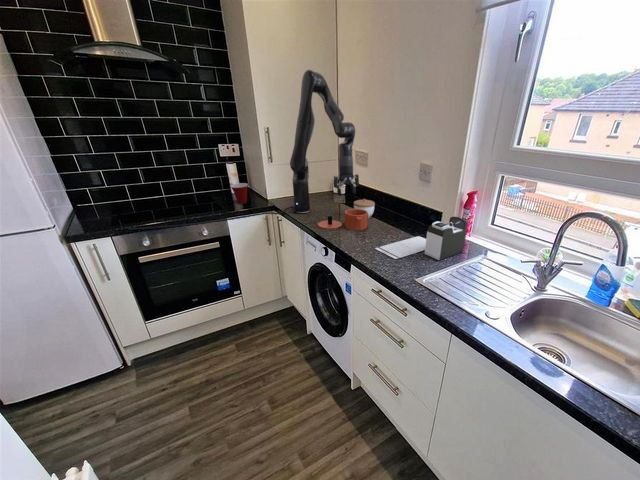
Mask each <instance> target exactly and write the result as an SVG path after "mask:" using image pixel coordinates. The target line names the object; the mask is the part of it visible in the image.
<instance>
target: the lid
mask: <svg viewBox="0 0 640 480" xmlns="http://www.w3.org/2000/svg"><path fill="white" fill-rule="evenodd" d="M317 226H318V227H319V228H321V229H324V230H333V229H334V230H335V229H339V228H341V227H342V226H343V223H342V221H338V220H335V219H334V220H333V215H332V214H327V219H325V220H322V221H319V222H318V223H317Z"/></svg>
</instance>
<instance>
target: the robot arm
mask: <svg viewBox="0 0 640 480" xmlns="http://www.w3.org/2000/svg"><path fill="white" fill-rule="evenodd" d="M326 80H327V79H325V76H324V75H322V74H321V73H320V72H317V71H315V70H313V69H306V70H305V71H304V73H303V75H302V78H301V87H300V88H301V90H300V102H299V109H298V115H297V116H298V117H297V122H296V126H295V128H296V129H295V135H294V144H293V149H292V153H291V157H290V160H289V167H290V169H291V171H292V189H293V192H292V193H293V203H291V206H288V207H287V208H285V209H284V210H283V211H282V212H272V211H268V212H267V211H266V212H259V213H253V214H248V215H247V214H246V215H241V216H235V217H229V218H228V217H227V218H221V219H214V220H208V221H207V220H206V221H201V222H200V221H199V222H192V223H191V222H190V223H182V224H171V225H159V226H147V227H144V226H143V227H129V228H127V231H137V230H139V231H140V230H153V229H154V230H155V229H167V228H177V227H179V228H180V227H189V226H196V225H204V224H210V223H211V224H213V223H216V222H224V221H231V220H237V219H244V218H249V217H255V216H262V215H269V214H270V215H283V214H285V212H286V211H288V210H290V209H291V211H294V214H308V213H311V206H310V187H309V179H310V177H309V176H310V175H309V174H310V173H309V161H308V159H307V151H308V148H309V145H310V142H311V140H312V137H313V133H314V128H315V122H316V119H315V114H314V110H313V104H312V101H313V93H314V94H317V95H318V96H319V97H320V99H321V100H322V103H323V108H324V111H325V113H326V115H327V117H328V118H329V120H330V122H331V124H332V128H333V131H334V135H335V136H336V137H338V138H339V139H343V141H342V142H340V143H339V144H338V174H339V175H338V176H336V175H334V176H333V188H335V189H337V190H336V193H337V195H338V196H339V197H341V196H342V187H343V186H344V185H347V184H348V185H349V184H350V185H351V193H352V194H353V195H355V194H356V192H357V187H358V186H359V185H360V179H359V178H360V177H359V176H360V175H359V174H357V173H354V156H353V145H354V141H355V137H356V126H355V124H354V123H353V122H352V121H351V122H350V121H348V122H347V121H346V122H343V121H344V120H345V115H344V113H343V112H342V110H341V108H340V106H339V105H338V104H337V101H336V100H335V98H334V96H333V94H332V92H331V90H330V87H329V85H328V83H327V81H326Z"/></svg>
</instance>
